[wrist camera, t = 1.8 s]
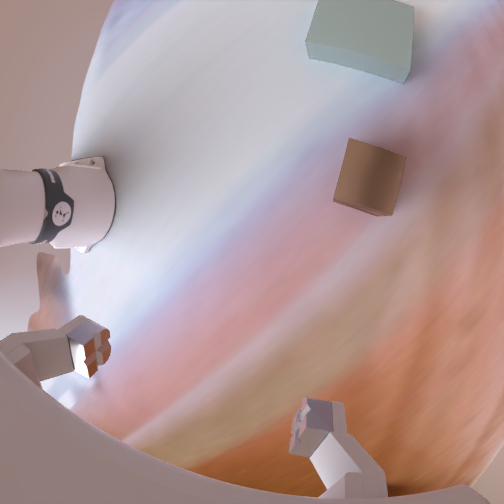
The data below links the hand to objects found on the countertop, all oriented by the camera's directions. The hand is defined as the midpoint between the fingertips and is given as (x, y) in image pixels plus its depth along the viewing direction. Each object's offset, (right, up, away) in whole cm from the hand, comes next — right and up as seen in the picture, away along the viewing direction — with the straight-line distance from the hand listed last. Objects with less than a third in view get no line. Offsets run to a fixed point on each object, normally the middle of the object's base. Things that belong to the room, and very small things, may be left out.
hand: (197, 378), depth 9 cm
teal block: (+19, +37, +19) cm, 46 cm away
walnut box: (+16, +13, +23) cm, 31 cm away
